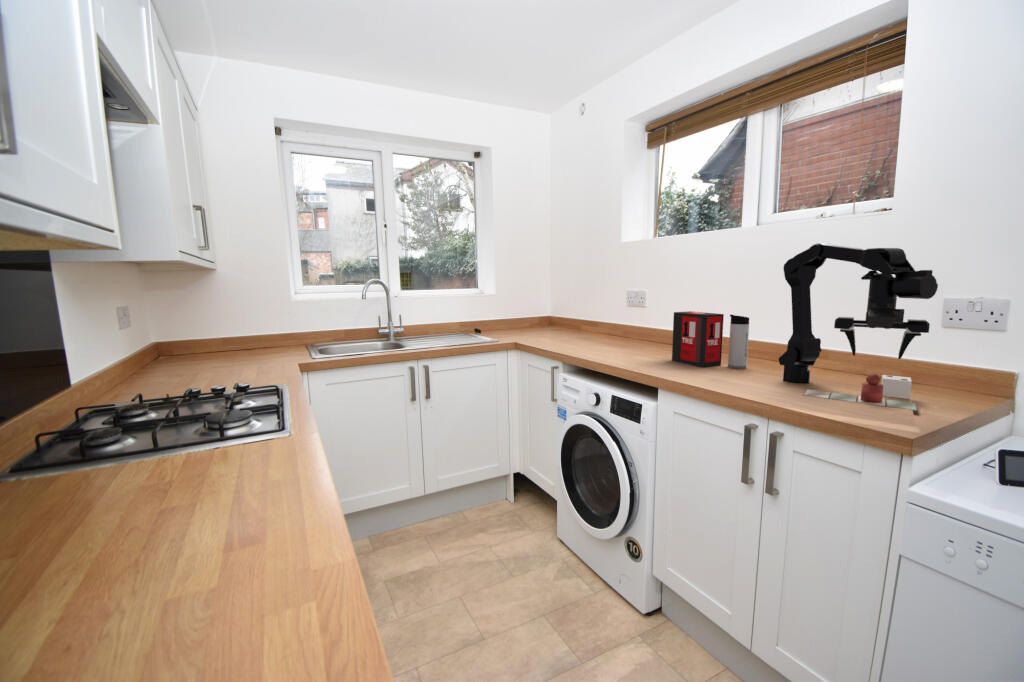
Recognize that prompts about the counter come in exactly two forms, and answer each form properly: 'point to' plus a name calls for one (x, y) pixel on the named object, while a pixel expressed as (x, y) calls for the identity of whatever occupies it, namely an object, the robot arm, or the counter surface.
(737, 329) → the travel mug
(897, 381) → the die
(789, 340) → the robot arm
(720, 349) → the cleaning product box
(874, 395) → the pawn
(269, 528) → the counter surface
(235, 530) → the counter surface
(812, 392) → the board
